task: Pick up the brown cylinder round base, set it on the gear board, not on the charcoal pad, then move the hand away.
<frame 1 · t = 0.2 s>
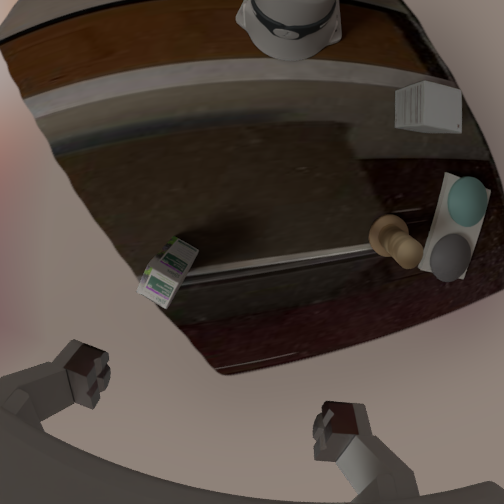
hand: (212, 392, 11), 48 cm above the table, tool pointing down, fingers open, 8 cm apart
brown cylinder round base: (387, 234, 57), on the table
gear board: (454, 227, 55), on the table
supplement box: (411, 111, 49), on the table
syrup box: (181, 254, 61), on the table
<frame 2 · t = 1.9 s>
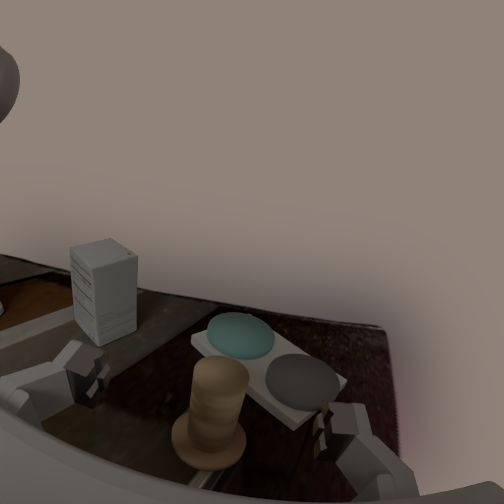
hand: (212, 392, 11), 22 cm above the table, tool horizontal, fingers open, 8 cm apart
brown cylinder round base: (208, 441, 30), on the table
gear board: (266, 368, 43), on the table
supplement box: (105, 328, 44), on the table
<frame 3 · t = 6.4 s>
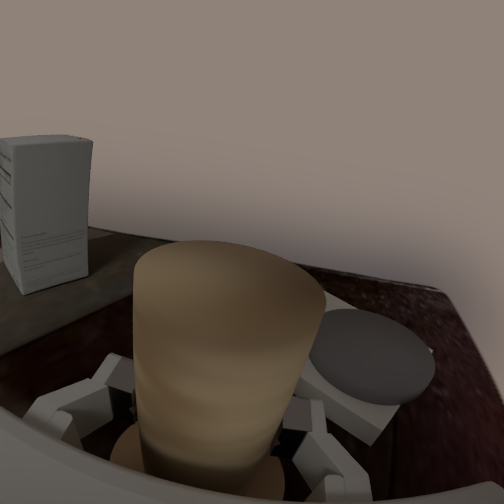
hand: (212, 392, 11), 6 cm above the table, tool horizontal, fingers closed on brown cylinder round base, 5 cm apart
brown cylinder round base: (195, 481, 12), on the table, touching gripper
gear board: (302, 335, 26), on the table
supplement box: (43, 272, 26), on the table
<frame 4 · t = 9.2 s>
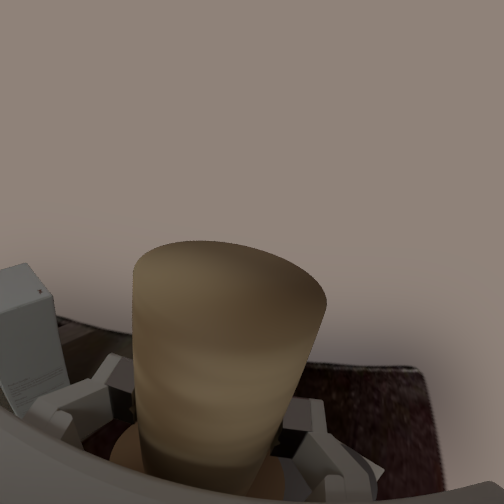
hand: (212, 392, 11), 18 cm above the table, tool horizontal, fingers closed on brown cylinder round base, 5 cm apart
brown cylinder round base: (195, 482, 12), point 12 cm above the table, touching gripper
gear board: (265, 458, 25), on the table
supplement box: (33, 389, 25), on the table
when the fingers open (10 cm above the table, at t = 11.9 s): brown cylinder round base drops 1 cm, resting on gear board.
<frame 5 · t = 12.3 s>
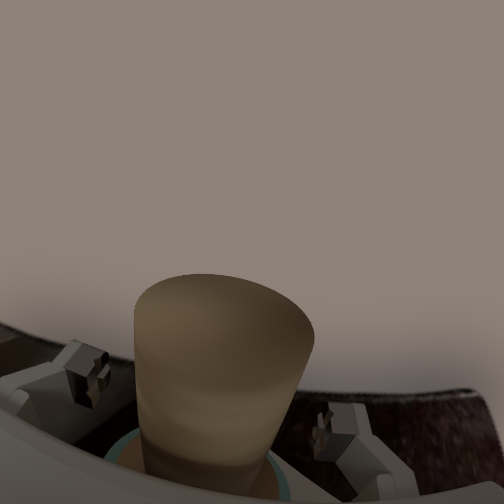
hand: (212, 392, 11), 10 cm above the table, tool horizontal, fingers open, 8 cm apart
brown cylinder round base: (195, 490, 12), point 3 cm above the table, touching gear board
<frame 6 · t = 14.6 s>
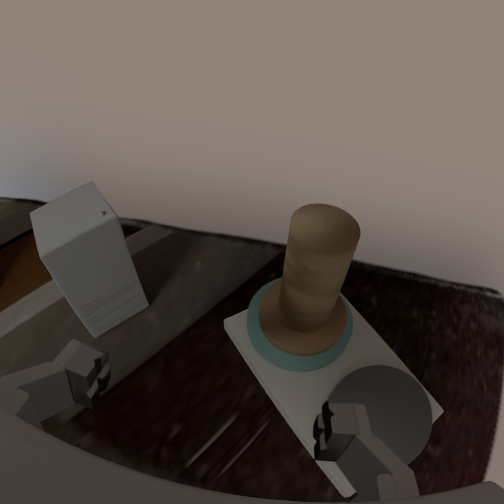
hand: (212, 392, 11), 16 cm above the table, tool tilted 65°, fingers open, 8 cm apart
brown cylinder round base: (301, 317, 29), point 3 cm above the table, touching gear board
gear board: (333, 378, 27), on the table
supplement box: (109, 302, 33), on the table
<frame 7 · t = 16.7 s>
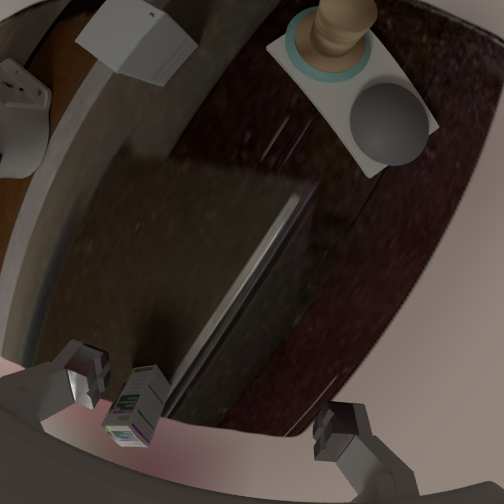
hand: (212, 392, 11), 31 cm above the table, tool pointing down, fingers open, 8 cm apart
brown cylinder round base: (329, 41, 29), point 3 cm above the table, touching gear board
gear board: (356, 85, 33), on the table
supplement box: (161, 53, 34), on the table
syrup box: (152, 376, 52), on the table
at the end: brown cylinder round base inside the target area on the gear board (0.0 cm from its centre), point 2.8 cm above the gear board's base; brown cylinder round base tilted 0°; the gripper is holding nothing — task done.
